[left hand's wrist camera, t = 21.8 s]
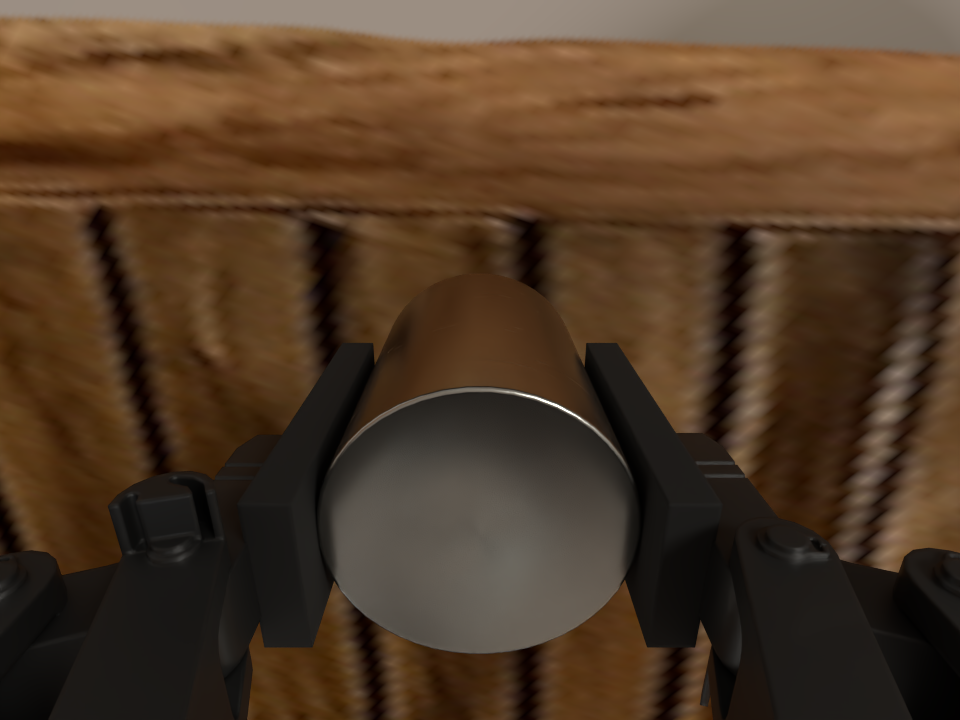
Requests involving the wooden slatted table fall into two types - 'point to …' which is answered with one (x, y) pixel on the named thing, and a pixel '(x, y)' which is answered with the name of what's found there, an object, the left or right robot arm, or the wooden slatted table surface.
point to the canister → (479, 478)
